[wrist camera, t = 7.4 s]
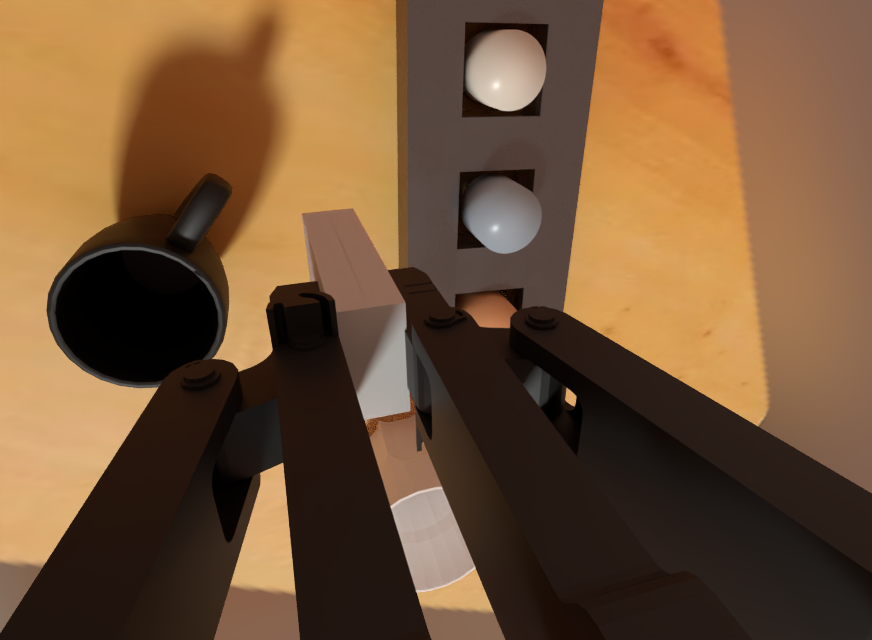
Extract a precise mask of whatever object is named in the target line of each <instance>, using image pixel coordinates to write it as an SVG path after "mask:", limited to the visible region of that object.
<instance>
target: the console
mask: <svg viewBox="0 0 872 640" xmlns="http://www.w3.org/2000/svg"><path fill="white" fill-rule="evenodd" d="M602 8H603V0H396V36H397V131H398V227H399V269H402V268H409V267H415V268H417V269H419V270H421V271H423V272H425V273H427V275H428V276H429V278H430V279H431V281H432V282H433V284H434V285H435V286H436V288H437V290H438V291H439V292H440V293H441V295H442V296H443V298H444V299H445V301H446V302H447V303H448V305H449V306H450V307H455V294H461V293H472V292H483V291H493V290H504V289H507V300H508V301H509V302H510V303H511V304H512V306H513V307H514V308H515V309H516V310H517V311H518V310H520V309H523V308H529V307H532V306H538V307H539V306H545V307H548V308H552V309H557V310H559V311H562V312H563V308H564V301H565V293H566V285H567V277H568V270H569V262H570V254H571V247H572V239H573V231H574V224H575V216H576V208H577V200H578V193H579V185H580V177H581V170H582V162H583V154H584V147H585V139H586V131H587V123H588V116H589V108H590V100H591V93H592V85H593V77H594V69H595V62H596V54H597V46H598V39H599V31H600V23H601V16H602ZM465 23H494V24H529V26H528V33H529V34H530V35H532V36H533V37H534V38H535V39H536V40H537V41H538V42H539V44H540V45H541V47H542V49H543V52H544V55H545V59H546V76H545V80H544V83H543V86H542V88H541V90H540V92H539V93H538V95H537V96H536V97H535V99H534V100H533V101H532V102H531V103H529V104H528V105H527V106H525V107H523V108H522V111H462V100H463V73H464V46H465ZM497 170H517V175H516V183H518V184H520V185H521V186H523V187H525V188H526V189H528V190H530V191H531V192H532V193H533V194H534V195H535V196H536V197H537V199H538V201H539V203H540V206H541V211H542V219H541V224H540V227H539V230H538V232H537V234H536V236H535V237H534V238H533V240H532V241H531V242H530V243H529V244H528V245H527V246H525V247H524V248H522V249H520V250H518V251H516V252H513V253H507V254H502V253H497V252H494V251H491V250H490V249H488V248H487V247H486V246H485V245H484V244H482V243H481V242H480V241H479V240H478V239H477V238H476V237H475V236H474V235H473V234H464V235H458V208H459V181H460V172H472V171H497Z"/></svg>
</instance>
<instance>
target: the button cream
mask: <svg viewBox="0 0 872 640" xmlns="http://www.w3.org/2000/svg"><path fill="white" fill-rule="evenodd" d="M545 76H546V59H545V55H544V52H543V49H542V47H541V45H540V44H539V42H538V41H537V40H536V39H535V38H534V37H533V36H532V35H530V34H529V33H527V32H524V31H521V30H485V31H482V32H479V33H477V34H476V35H474V36H473V37H472V38H471V39H470V40H469V41H468V42H467V43H466V44H465V46H464V73H463V90H464V92H465V93H466V94H467V95H468V96H469V97H470V98H471V99H472V100H474V101H476V102H478V103H481V104H484V105H487V106H490V107H493V108H496V109H499V110H502V111H514V110H518V109H521V108H523V107H525V106H527V105H528V104H529V103H531V102H532V101H533V100H534V99H535V97H536V96H537V95H538V93H539V92H540V90H541V88H542V86H543V83H544V80H545Z"/></svg>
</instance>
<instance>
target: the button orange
mask: <svg viewBox="0 0 872 640" xmlns="http://www.w3.org/2000/svg"><path fill="white" fill-rule="evenodd" d="M455 307H456V308H459V309H462V310H465V311H466V312H468V313H469V314H470V315H471V316H472V317H473V318H474V320H475V321H476V322H477V324H478V325H479V326H480V327H490V328H510V317H511V316H512V315H513V313H514V312H516V311H517V310H516V309H515V308H514V307H513V306H512V304H511V303H510V302H509V301H508V300H507V299H506V298H505V297H504V296H503V295H502V293H501V292H500V291H499V290H493V291H483V292H472V293H461V294H457V295H456V296H455Z"/></svg>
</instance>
